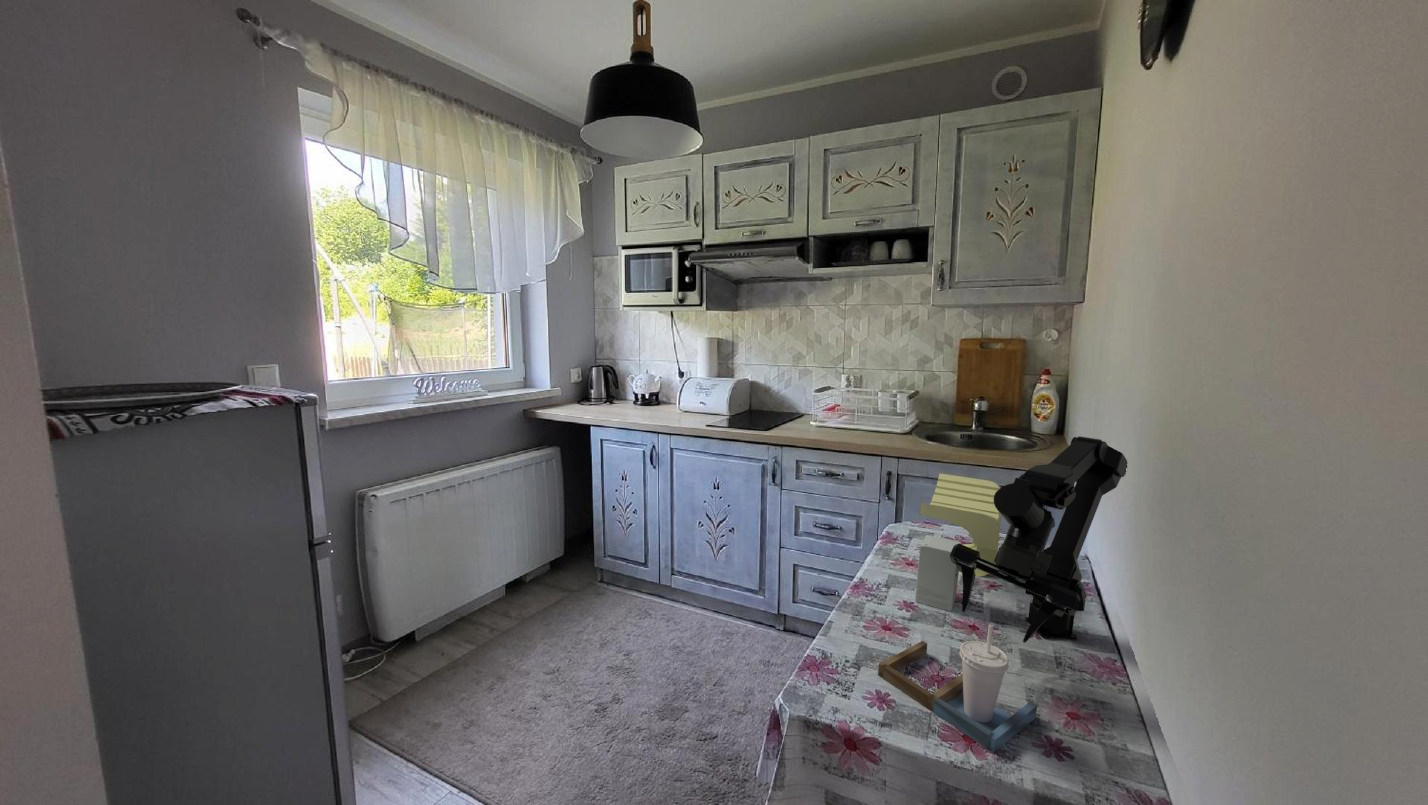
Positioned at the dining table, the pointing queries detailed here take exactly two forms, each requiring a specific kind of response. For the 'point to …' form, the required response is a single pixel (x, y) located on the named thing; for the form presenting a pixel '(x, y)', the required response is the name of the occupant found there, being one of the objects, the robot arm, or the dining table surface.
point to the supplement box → (936, 573)
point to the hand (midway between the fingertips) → (992, 626)
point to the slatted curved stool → (968, 511)
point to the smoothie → (982, 677)
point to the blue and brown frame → (955, 703)
